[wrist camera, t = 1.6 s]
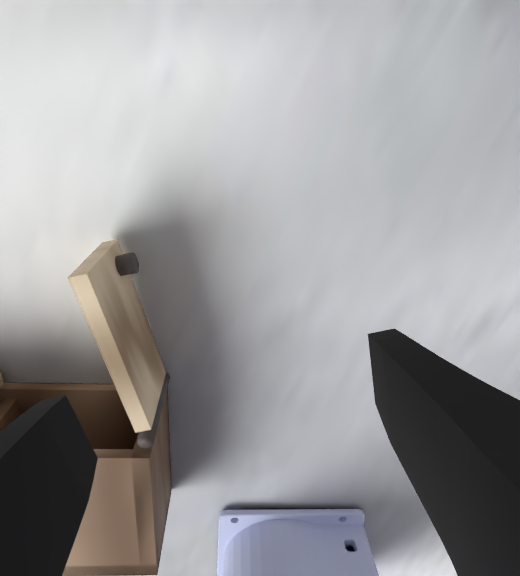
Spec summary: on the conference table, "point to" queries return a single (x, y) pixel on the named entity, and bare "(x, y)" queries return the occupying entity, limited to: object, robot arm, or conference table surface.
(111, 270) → the left door
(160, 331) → the conference table surface
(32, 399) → the box
